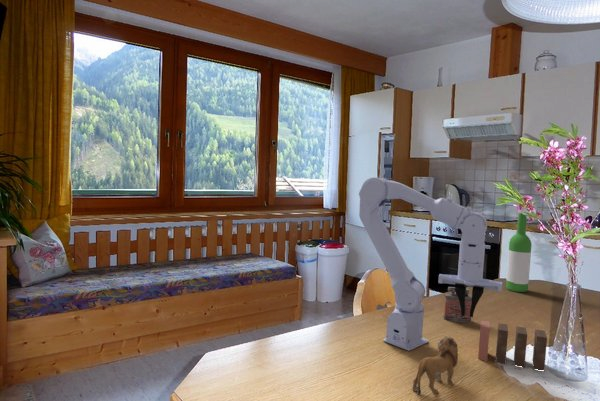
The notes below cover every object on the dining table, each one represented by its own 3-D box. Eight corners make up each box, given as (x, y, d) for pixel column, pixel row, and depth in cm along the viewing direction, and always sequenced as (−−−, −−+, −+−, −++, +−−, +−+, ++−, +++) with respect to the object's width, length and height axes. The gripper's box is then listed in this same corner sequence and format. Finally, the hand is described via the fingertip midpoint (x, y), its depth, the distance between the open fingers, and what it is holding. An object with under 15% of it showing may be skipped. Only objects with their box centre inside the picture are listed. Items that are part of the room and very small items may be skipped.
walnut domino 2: (514, 366, 102) (517, 332, 102) (513, 358, 107) (516, 326, 106) (524, 368, 101) (527, 334, 101) (523, 359, 106) (525, 327, 105)
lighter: (469, 318, 134) (471, 286, 134) (472, 322, 131) (474, 289, 130) (442, 316, 135) (444, 284, 134) (444, 320, 132) (447, 287, 131)
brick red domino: (478, 359, 105) (480, 326, 105) (478, 351, 110) (481, 320, 109) (487, 360, 105) (489, 328, 104) (487, 352, 109) (489, 321, 108)
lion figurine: (438, 370, 98) (440, 331, 98) (461, 378, 95) (464, 338, 94) (406, 393, 88) (409, 350, 87) (431, 404, 84) (434, 358, 83)
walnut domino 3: (534, 370, 101) (537, 336, 100) (532, 361, 105) (535, 329, 105) (544, 372, 100) (547, 337, 99) (541, 363, 104) (544, 330, 104)
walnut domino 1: (496, 362, 104) (498, 329, 103) (495, 354, 108) (498, 323, 108) (505, 364, 103) (508, 331, 102) (504, 356, 108) (507, 324, 107)
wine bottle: (513, 286, 175) (519, 212, 173) (532, 291, 169) (538, 214, 166) (501, 288, 172) (507, 212, 169) (519, 293, 165) (526, 214, 163)
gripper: (438, 260, 106) (434, 314, 107) (504, 268, 101) (499, 325, 102) (441, 255, 113) (438, 307, 114) (503, 262, 107) (499, 316, 108)
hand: (467, 315), depth 108 cm, fingers closed
